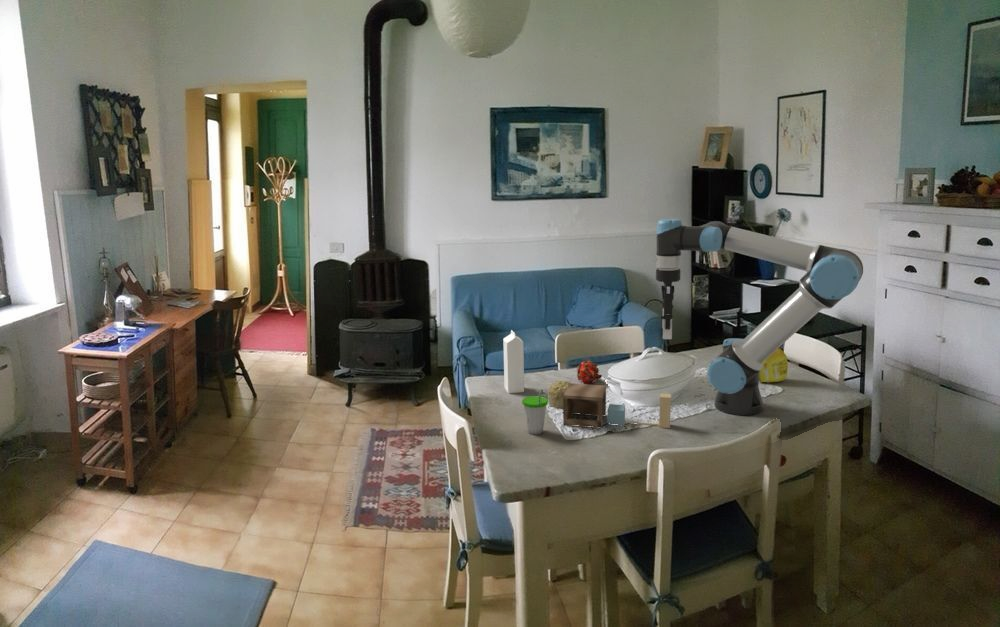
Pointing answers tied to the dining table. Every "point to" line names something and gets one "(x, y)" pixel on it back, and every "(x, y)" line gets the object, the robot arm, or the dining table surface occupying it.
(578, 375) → the dragon fruit
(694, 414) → the dining table surface
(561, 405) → the decorative item
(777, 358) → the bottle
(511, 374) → the milk
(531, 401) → the cup
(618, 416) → the tethered block
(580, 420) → the brown wooden box
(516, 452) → the dining table surface
